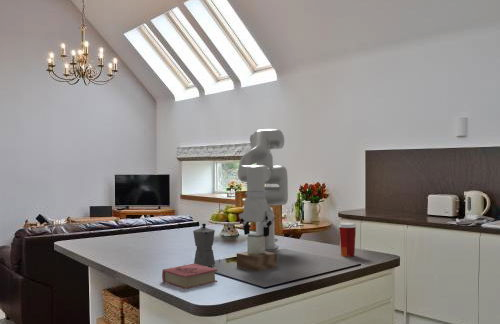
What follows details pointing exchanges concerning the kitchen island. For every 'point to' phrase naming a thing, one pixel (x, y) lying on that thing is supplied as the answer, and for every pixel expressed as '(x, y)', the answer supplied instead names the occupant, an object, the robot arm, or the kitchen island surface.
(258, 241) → the tea tin
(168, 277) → the book
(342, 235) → the coffee cup
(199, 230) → the coffeepot
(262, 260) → the walnut box
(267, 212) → the robot arm
